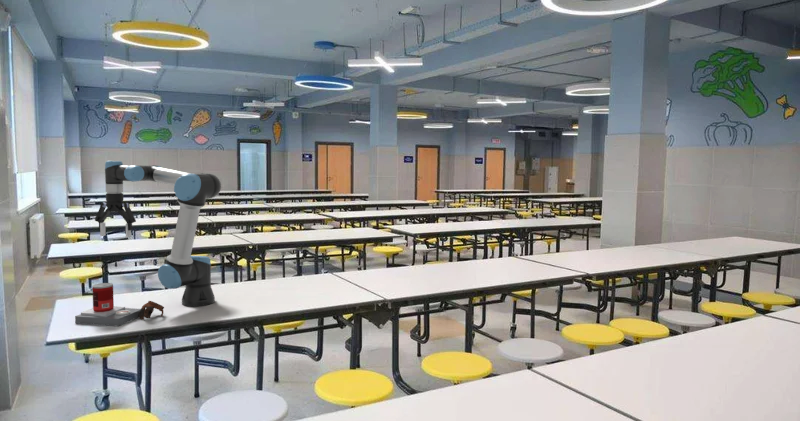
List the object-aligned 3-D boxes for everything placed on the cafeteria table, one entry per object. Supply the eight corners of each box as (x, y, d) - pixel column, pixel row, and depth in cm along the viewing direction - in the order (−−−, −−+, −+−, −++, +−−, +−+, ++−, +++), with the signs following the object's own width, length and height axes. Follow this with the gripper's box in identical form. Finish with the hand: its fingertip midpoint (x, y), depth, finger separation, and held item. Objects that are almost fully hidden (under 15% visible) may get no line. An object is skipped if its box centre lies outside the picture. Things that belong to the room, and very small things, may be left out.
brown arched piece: (138, 316, 239) (148, 299, 241) (158, 325, 240) (168, 308, 243) (133, 316, 227) (143, 298, 230) (154, 325, 229) (164, 307, 231)
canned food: (117, 307, 236) (116, 283, 235) (106, 312, 228) (105, 287, 227) (101, 306, 236) (100, 282, 235) (89, 311, 228) (88, 286, 227)
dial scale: (142, 315, 238) (142, 306, 238) (118, 326, 222) (118, 316, 222) (102, 312, 241) (101, 304, 241) (75, 323, 226) (75, 313, 225)
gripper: (143, 193, 260) (144, 236, 262) (96, 191, 264) (98, 234, 266) (133, 193, 253) (134, 238, 255) (85, 192, 257) (87, 236, 258)
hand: (115, 236), depth 260 cm, fingers open, 13 cm apart
